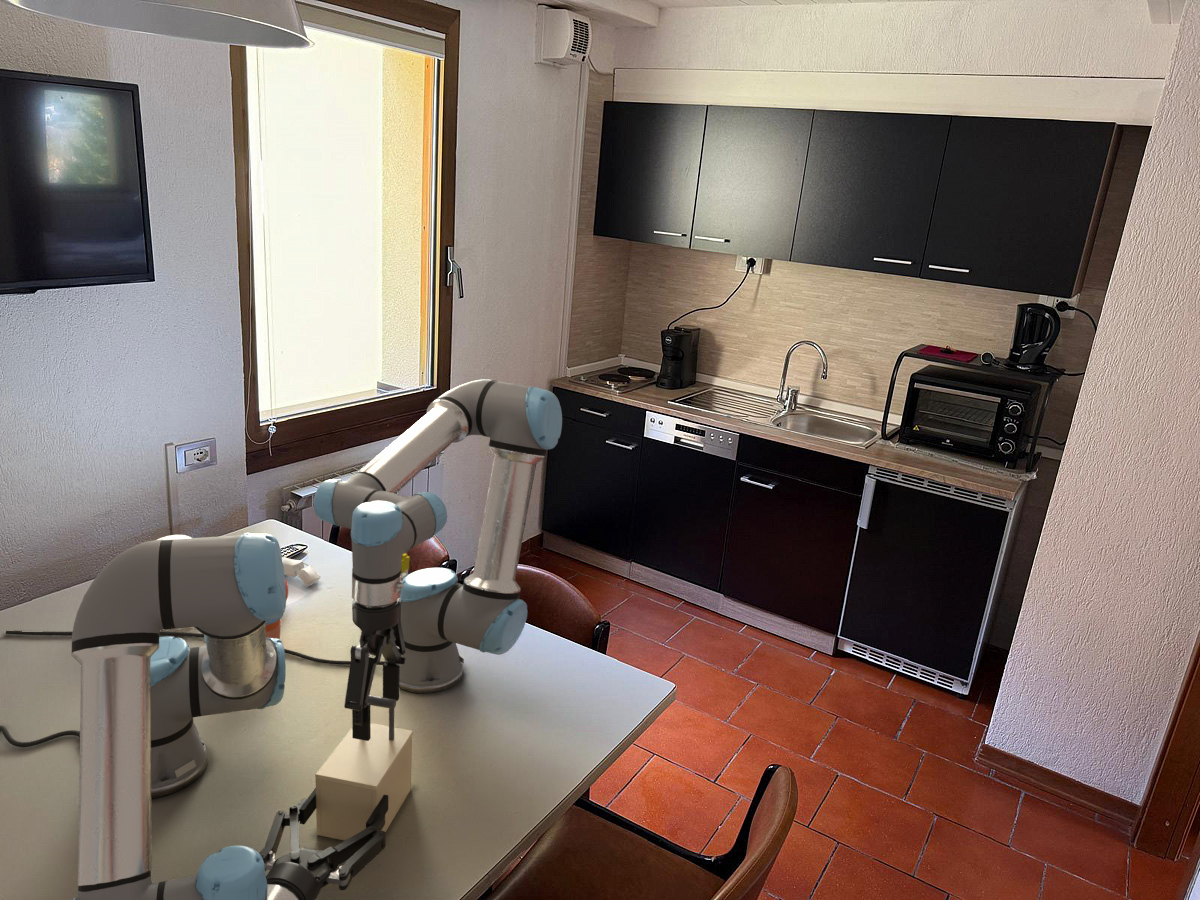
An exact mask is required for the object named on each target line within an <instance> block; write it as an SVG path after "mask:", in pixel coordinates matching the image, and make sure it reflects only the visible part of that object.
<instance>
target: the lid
mask: <svg viewBox="0 0 1200 900" xmlns="http://www.w3.org/2000/svg"><path fill="white" fill-rule="evenodd" d="M368 703H370V706H374V707H379V708H385V709H388V725H384V724H379V723H373V722H370V735H371V738H370V740H369V741H365V740H359V739H354V738H353V732H352V727H351V728H350V729H349V730H348V731H347V733H346V735H345V736H344V737H343V738H342V739H341V741H340V742H339V743H338V744H337V746H336V747H335V748H334V750H333V751H332V752H331V754H330V755H329V756H328V757H327V759H326V760H325V761H324V762H323V764H322V765H321V766H320V767H319V768H318V770H317V772H316V773H315V777H314V778H315V780H316V779H321V780H326V781H331V782H336V783H341V784H346V785H351V786H356V787H361V788H366V789H371V790H377V789H378V788H379V786H380V785H381V783H382V781H383V780H384V778H385V777H386V775H387V774H388V772H389V771H390V769H391V768H392V766H393V765H394V763H395V762H396V760H397V759H398V757H399V755H400V754H401V752H402V751H403V749H404V748H405V746H406V745H407V743H408V742H409V740H410V739H411V737H412V738H413V736H414V730H411V729H405V728H402V727H401V728H400V727H396V726H395V709H396V706H397V701H396V700H395V699H389V698H384V697H383V696H378V695H371V694H369V699H368Z"/></svg>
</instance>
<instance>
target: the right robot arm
mask: <svg viewBox="0 0 1200 900" xmlns="http://www.w3.org/2000/svg"><path fill="white" fill-rule="evenodd" d="M562 429H563V413H562V407H561V405H560V401H559V399H558V396H556V395H555V393H553V392H552V391H550V390H547V389H544V388H541V387H540V388H539V387H537V386H530V385H525V384H518V383H512V382H506V381H498V380H495V379H490V378H489V379H488V378H485V379H477V380H471V381H469V382H466V383H462V384H460V385H457V386H456V387H453V388H451V389H450V390H447V391H446V392H444V393H443V394H441V395H440V396H438V397H436V398H435V399H434V400H433V401H432V402H430V404H429V405H428V406H427V408H426V414H424V415H423V416H422V417H421V418H420V419H419V420H417V421H416V422H415V423H414V424H413V425H411V426H410V427H409V428H408V429H406V430H405V431H404V432H403V433H402V434H400V435H399V436H398V437H397V438H396V439H394V440H393V441H392V442H391V443H390V444H388V445H387V446H386V447H384V449H383V450H381V451H380V452H379V453H378V454H376V455H375V456H374V457H373V458H371V459H370V460H369V461H368V462H367V463H365V464H364V465H363V466H362V467H360V469H358V470H357V471H356V472H354V474H352V475H351V476H349V478H348V479H346V480H342V479H340V478H339V479H333V478H331V479H326V480H324V481H323V482H321V483H320V484H319V486H318V488H317V490H316V491H315V493H314V497H313V503H312V504H313V509H314V510H313V511H314V513H315V515H316V517H317V518H318V519H319V520H321V521H323V522H325V523H328V524H330V525H334V526H335V527H341V528H346V529H349V530H350V538H351V557H352V558H351V559H352V560H351V561H352V568H351V599H352V602H351V605H352V606H351V607H352V608H351V610H352V611H351V613H352V615H351V617H352V622H353V624H354V625H355V626H356V627H357V628H358V629H359V630H360V632H361V633H360V636H359V641H358V642H359V644H358V645H355V644H354V645H352V646H351V648H350V660H335V659H334V660H333V659H324V658H318V657H313V656H310V655H307V654H303V653H301V652H298V651H294V650H290V649H286V648H284V651H285V654H288V655H292V656H295V657H298V658H300V659H304V660H306V661H310V662H314V663H318V664H319V663H320V664H326V665H337V666H338V665H340V666H349V670H348V677H347V685H346V690H345V691H346V693H345V700H344V706H343V707H344V709H348V710H351V711H352V714H351V715H352V720H351V721H352V723H351V724H352V727H351V728H352V732H353V738H354V739H359V740H365V741H369V740H370V738H371V735H370V723H371V705H370V703H368V699H369V695H371V689H372V686H373V680H374V676H375V672H376V667H377V666H382V697H384V698H389V699H395V700H396V702H398V701H399V700H400V689H401V690H404V691H407V692H410V693H416V694H430V693H431V694H432V693H438V692H441V691H445V690H447V689H450V688H451V687H453V686H455V685H456V684H457V683H458V682H459V681H460V680H461V679H462V676H463V672H464V664H465V658H463V657H462V656H460V653H459V649H458V646H457V644H458V645H460V646H465V647H468V648H471V649H474V650H477V651H479V652H480V653H489V654H492V655H497V656H499V655H504V654H505V653H507V652H509V651H510V650H511V649H512V648H513V647H514V646H515V644H516V643H517V641H518V640H519V638H520V636H521V635H522V632H523V630H524V628H525V625H526V623H527V622H526V621H527V619H528V611H529V610H528V604H527V602H525V601H524V600H523V599H520V596H521V592H522V591H521V590H522V588H521V586H520V585H519V584H518V582H517V580H516V576H517V571H518V566H519V561H520V556H521V555H520V554H521V549H522V543H523V539H524V533H525V528H526V522H527V519H528V518H527V515H528V511H529V507H530V501H531V495H532V492H533V491H532V490H533V486H534V485H533V484H534V479H535V473H536V468H537V465H538V464H539V463H540V462H541V461H542V460H544V459H545V458H546V456H547V451H548V450H552V449H554V448H555V447H556V446H557V445H558V443H559V439H560V438H561V434H562ZM470 436H481V437H485V438H489V442H488V449H489V450H490V452H491V453H492V454H493V461H492V468H491V473H490V479H489V484H488V490H487V496H486V499H485V506H484V511H483V517H482V522H481V527H480V533H479V538H478V544H477V549H476V550H477V551H476V554H475V561H474V566H473V570H472V573H470V574H469V575H468V576H466V577H465V578H464V579H463V584H461V583H458V580H459V579H458V575H457V573H456V572H455V571H454V570H452V569H450V568H445V567H428V568H422V569H418V570H416V571H413V572H410V573H408V575H407V576H406V577H405V578H404V579H403V580H402V582H401V561H402V554H404V553H405V552H406V553H408V552H409V551H411V550H412V549H413V548H416V547H418V545H419V546H420V544H422V543H424V542H426V541H428V540H430V539H432V538H433V537H434V536H435V535H436V534H438V533H439V532H440V531H441V530H443V529H444V527H445V525H446V524H447V520H448V510H447V507H446V505H445V503H444V501H443V500H442V499H441V498H440V497H439V495H437V494H436V493H433V492H430V491H422V492H418V493H414V494H412V495H411V496H407V495H403V494H399V492H400V491H401V490H402V489H403V488H404V487H406V485H407V484H409V483H410V482H411V481H412V480H414V478H415V477H416V476H418V475H419V474H420V473H421V472H422V471H423V470H424V469H425V468H426V467H427V466H429V464H430V463H432V462H433V461H434V460H435V459H436V458H437V457H438V456H440V454H442V453H443V452H444V451H445V450H446V449H447V448H448V447H450V446H451V445H452V444H456V443H460V442H462V441H464V440H465V439H466V438H467V437H470ZM22 631H23V630H14V631H7V630H6V631H5V634H6V635H17V636H18V635H19V636H20V635H21V636H22V635H23V636H72V632H73V631H43V630H42V631H43V632H22ZM159 636H172V637H177V636H178V637H192V638H204V639H205V637H204V634H202V633H201V632H199V633H198V632H188V631H187V632H185V631H167V630H160V633H159ZM370 656H374V657H370ZM382 657H383V658H384V661H383V660H381V659H382Z"/></svg>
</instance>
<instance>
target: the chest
mask: <svg viewBox="0 0 1200 900" xmlns="http://www.w3.org/2000/svg"><path fill="white" fill-rule="evenodd" d="M412 758H413V736H412V737H411V739H410V740H409V742H408V743H407V745H406V746H405V748H404V749H403V751H402V752H401V754H400V755H399V757H398V759H397V760H396V762H395V763H394V765H393V766H392V768H391V769H390V771H389V772H388V774H387V775H386V777H385V778H384V780H383V781H382V783H381V785H380V786H379V788H378V789H377V790H371V789H366V788H361V787H356V786H351V785H346V784H341V783H336V782H331V781H326V780H321V779H316V778H315V788H316V809H315V813H316V816H315V817H316V821H315V822H316V836H320V837H326V838H331V839H335V840H339V841H343V842H344V841H346V840H347V839H349V838H351V837H352V836H354V835H356V834H357V833H359V832H361V831H363V830H364V829H366V822H367V820H368V819H369V817H370V816H371V814H372V813H373V811H374V809H375V808H376V806H377V805H378V803H379V802H380V800H381V799H382V797H383V796H384V795H388V811H387V813H386V814H385V825H384V827H383V828H382V830H381V831H385V833H386V832H387V830H388V829H389V827H390V826H391V824H392V822H393V820H394V819H395V817H396V815H397V813H398V812H399V811H400V809H401V807H402V805H403V804H404V802H405V800H406V799H407V797H408V795H409V793H410V792H411V790H412V769H413V767H412V766H413V765H412V764H413V763H412V761H413V759H412Z"/></svg>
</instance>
